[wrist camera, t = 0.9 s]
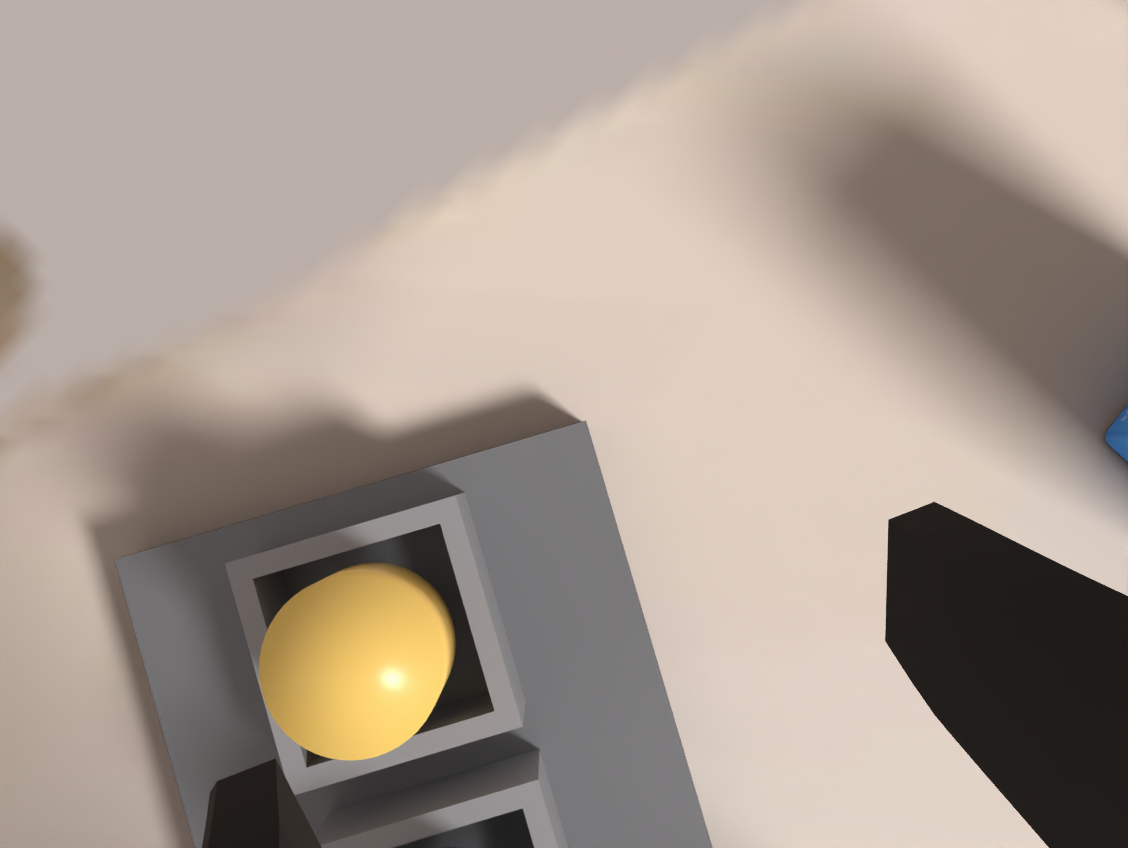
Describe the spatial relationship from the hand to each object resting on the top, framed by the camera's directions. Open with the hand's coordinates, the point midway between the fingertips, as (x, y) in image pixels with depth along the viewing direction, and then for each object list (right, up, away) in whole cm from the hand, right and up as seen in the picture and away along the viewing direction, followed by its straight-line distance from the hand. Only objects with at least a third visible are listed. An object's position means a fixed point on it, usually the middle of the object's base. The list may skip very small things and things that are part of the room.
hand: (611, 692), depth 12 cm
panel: (-3, -8, +15) cm, 18 cm away
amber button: (-5, -2, +12) cm, 13 cm away
